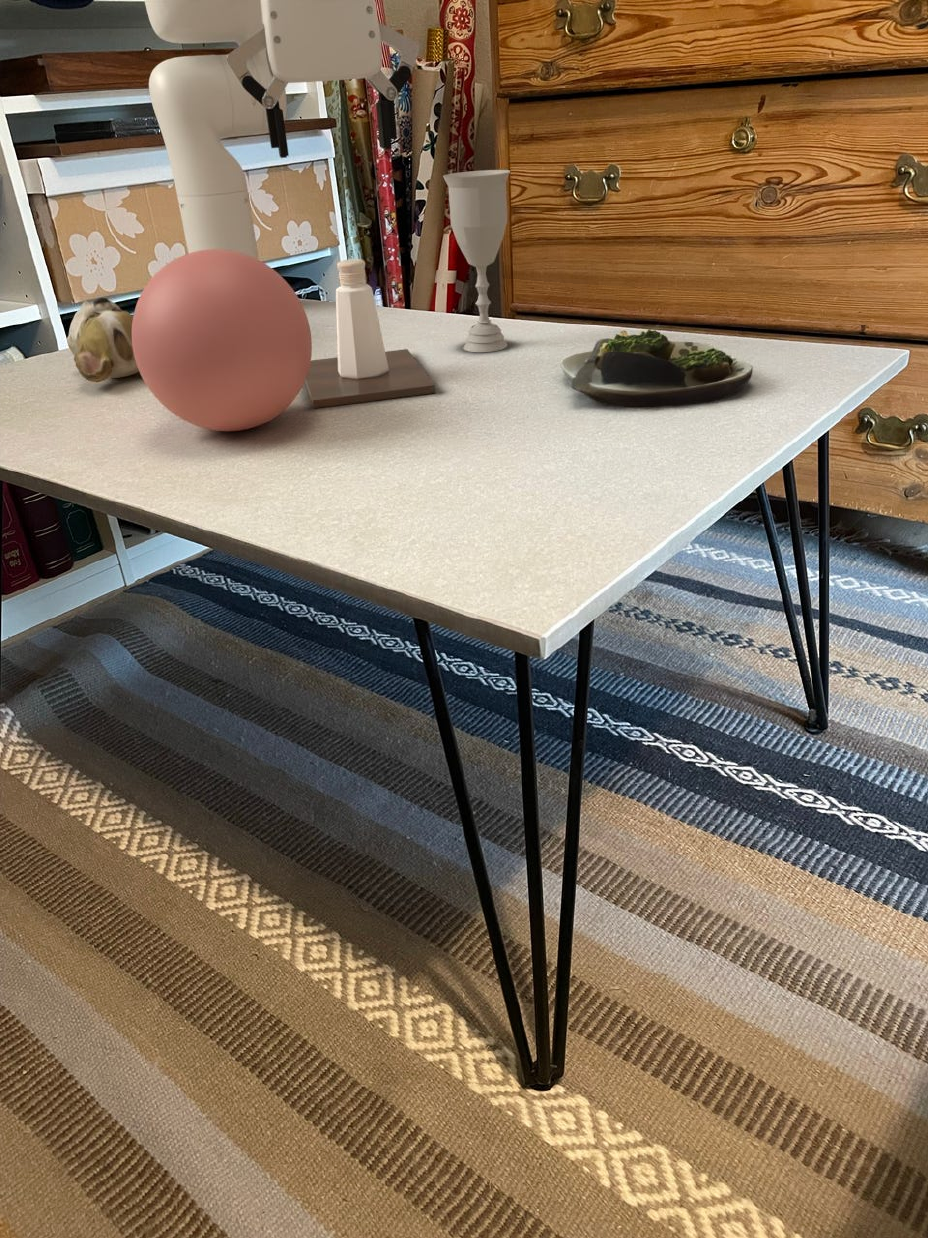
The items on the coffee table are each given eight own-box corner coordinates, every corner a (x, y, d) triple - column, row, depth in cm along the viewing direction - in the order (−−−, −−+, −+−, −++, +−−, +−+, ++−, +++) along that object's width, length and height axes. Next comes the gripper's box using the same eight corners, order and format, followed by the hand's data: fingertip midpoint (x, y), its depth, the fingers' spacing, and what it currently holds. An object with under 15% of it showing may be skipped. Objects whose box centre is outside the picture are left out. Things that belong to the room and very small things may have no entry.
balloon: (266, 383, 100) (240, 228, 93) (351, 427, 85) (328, 245, 78) (120, 415, 93) (79, 249, 86) (184, 468, 78) (142, 273, 71)
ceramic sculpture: (126, 278, 111) (174, 302, 101) (142, 352, 116) (190, 382, 105) (33, 294, 106) (74, 321, 96) (54, 371, 111) (95, 404, 100)
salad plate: (529, 364, 100) (527, 320, 98) (689, 346, 102) (691, 302, 100) (583, 417, 83) (582, 365, 81) (773, 394, 86) (778, 342, 83)
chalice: (480, 357, 104) (470, 177, 95) (442, 348, 109) (429, 176, 100) (529, 344, 108) (524, 170, 99) (490, 336, 113) (482, 169, 104)
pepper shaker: (327, 373, 99) (313, 262, 94) (371, 362, 102) (359, 254, 97) (354, 382, 95) (340, 267, 90) (399, 371, 98) (388, 258, 93)
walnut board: (301, 368, 105) (300, 361, 104) (408, 355, 107) (407, 348, 106) (313, 408, 91) (312, 400, 91) (435, 392, 93) (435, 384, 93)
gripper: (403, -69, 85) (418, 143, 94) (207, -62, 82) (241, 157, 91) (418, -82, 79) (433, 147, 87) (206, -74, 76) (243, 162, 85)
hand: (335, 152), depth 89 cm, fingers open, 9 cm apart
